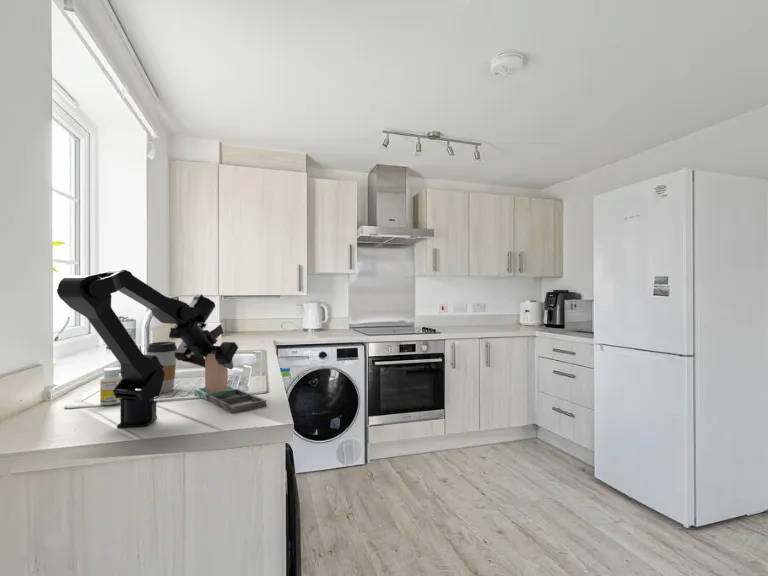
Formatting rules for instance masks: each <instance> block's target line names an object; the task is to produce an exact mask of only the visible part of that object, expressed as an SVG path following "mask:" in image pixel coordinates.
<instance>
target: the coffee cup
mask: <svg viewBox="0 0 768 576" xmlns="http://www.w3.org/2000/svg"><path fill="white" fill-rule="evenodd" d="M177 348H178V347H177V345H176V342H174V341H158V342H151V343H149V344H148V347H147V350H146V353H147V355H156V357H157V358H158V360H159V362H160V364H161V365H163V366H164V368H162V369H163V371H164V374H165V376H164V380H163V384H162V387H161V391H160V394H164V393H169V392H171V391H173V389H174V387H175V377H176V364H177V363H176V361H177V359H176V358H175V351H176V350H177Z"/></svg>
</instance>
